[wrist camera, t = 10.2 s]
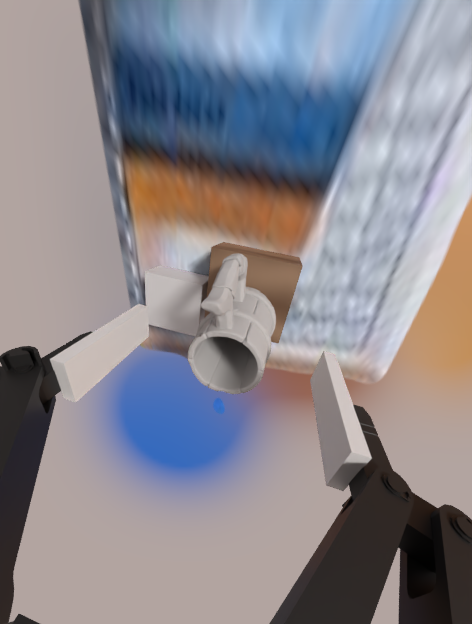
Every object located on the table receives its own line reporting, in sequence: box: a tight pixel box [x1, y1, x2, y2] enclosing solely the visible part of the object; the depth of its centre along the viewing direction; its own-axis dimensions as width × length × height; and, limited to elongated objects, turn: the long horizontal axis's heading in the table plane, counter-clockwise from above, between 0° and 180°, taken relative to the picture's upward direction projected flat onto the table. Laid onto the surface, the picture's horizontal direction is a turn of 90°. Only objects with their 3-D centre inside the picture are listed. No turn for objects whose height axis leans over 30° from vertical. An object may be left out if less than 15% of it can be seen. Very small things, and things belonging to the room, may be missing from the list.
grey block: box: [145, 265, 209, 336], centre depth 30 cm, size 8×8×4 cm
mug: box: [188, 254, 276, 394], centre depth 19 cm, size 8×12×12 cm, turn 1°
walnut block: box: [204, 242, 302, 343], centre depth 26 cm, size 10×10×5 cm
